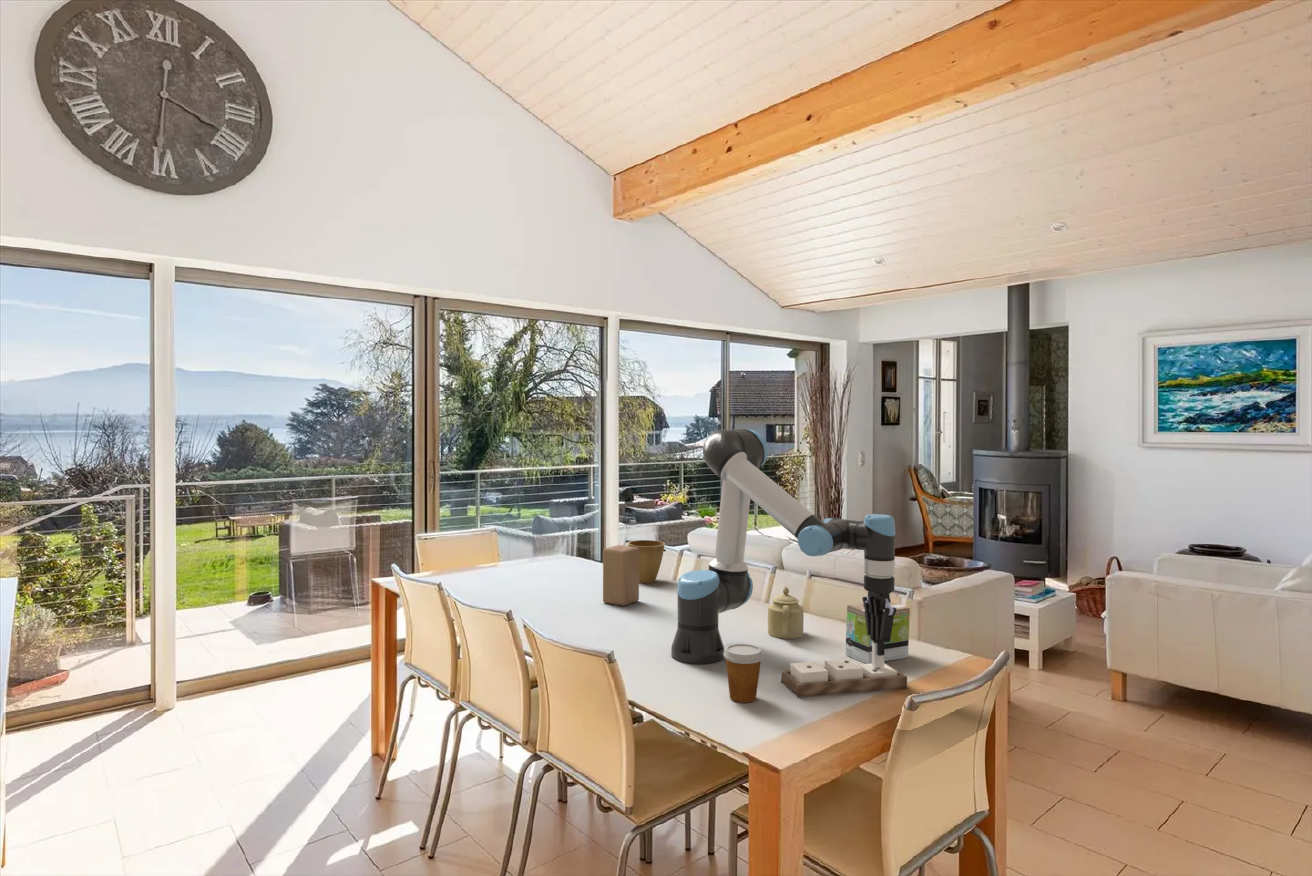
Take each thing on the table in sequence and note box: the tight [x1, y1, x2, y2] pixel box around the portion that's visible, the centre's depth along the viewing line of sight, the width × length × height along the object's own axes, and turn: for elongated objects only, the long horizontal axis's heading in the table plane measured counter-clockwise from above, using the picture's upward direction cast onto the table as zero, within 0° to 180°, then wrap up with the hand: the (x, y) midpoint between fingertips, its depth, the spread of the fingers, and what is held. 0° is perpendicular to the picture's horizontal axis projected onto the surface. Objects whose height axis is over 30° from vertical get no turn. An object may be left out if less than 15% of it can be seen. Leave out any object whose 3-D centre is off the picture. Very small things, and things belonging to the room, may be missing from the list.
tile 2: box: [824, 658, 863, 681], centre depth 189 cm, size 7×7×3 cm
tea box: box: [845, 601, 911, 664], centre depth 212 cm, size 15×10×15 cm, turn 117°
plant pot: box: [628, 539, 666, 584], centre depth 306 cm, size 15×15×16 cm
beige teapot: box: [767, 586, 805, 640], centre depth 232 cm, size 15×11×15 cm
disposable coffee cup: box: [724, 643, 764, 704], centre depth 180 cm, size 10×10×12 cm
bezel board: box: [780, 662, 908, 698], centre depth 189 cm, size 30×10×3 cm, turn 103°
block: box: [602, 544, 640, 607], centre depth 272 cm, size 10×10×20 cm
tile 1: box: [789, 661, 828, 683], centre depth 187 cm, size 7×7×3 cm
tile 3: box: [858, 663, 898, 678], centre depth 191 cm, size 7×7×3 cm
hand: (878, 666), depth 191 cm, fingers closed
